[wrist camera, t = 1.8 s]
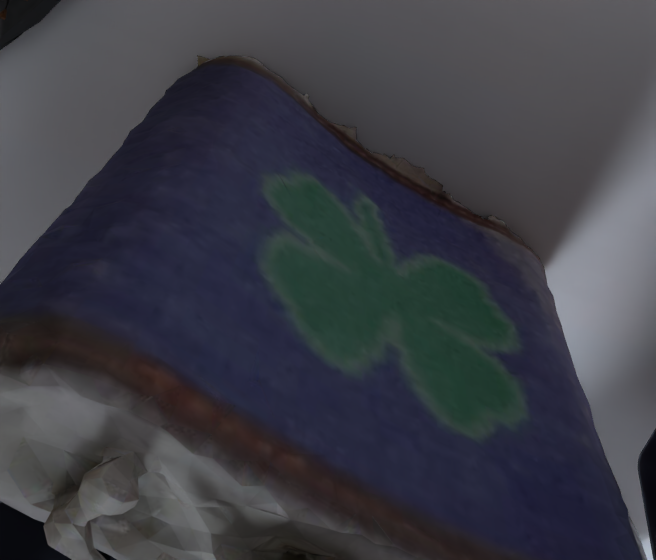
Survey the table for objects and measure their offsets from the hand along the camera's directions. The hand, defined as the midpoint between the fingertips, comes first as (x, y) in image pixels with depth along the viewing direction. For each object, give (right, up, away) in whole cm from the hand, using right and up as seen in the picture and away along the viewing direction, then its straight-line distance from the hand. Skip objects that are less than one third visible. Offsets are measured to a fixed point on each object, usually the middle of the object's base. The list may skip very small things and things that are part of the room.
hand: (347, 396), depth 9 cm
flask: (+1, +4, +5) cm, 6 cm away
